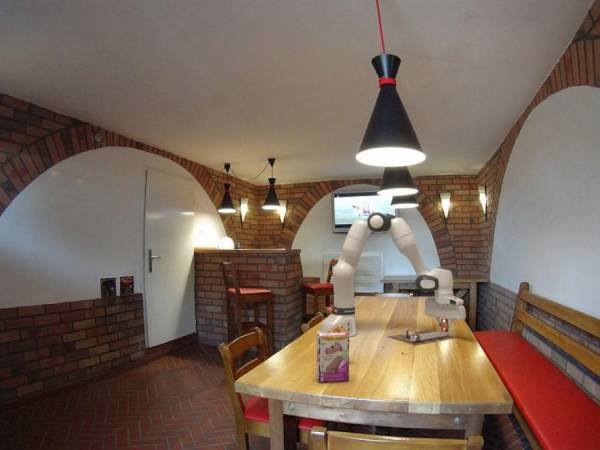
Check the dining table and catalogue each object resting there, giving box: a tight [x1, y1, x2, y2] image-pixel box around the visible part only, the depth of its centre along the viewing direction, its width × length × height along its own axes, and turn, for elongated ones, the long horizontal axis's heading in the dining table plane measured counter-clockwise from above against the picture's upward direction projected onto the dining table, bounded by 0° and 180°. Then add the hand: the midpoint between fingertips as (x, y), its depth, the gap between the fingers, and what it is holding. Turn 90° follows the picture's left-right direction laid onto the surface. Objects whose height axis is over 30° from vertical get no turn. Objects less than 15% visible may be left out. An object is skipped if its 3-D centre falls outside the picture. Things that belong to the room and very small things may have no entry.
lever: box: [410, 318, 451, 342], centre depth 183 cm, size 24×4×8 cm, turn 119°
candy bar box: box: [316, 332, 350, 384], centre depth 134 cm, size 11×5×16 cm, turn 98°
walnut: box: [408, 329, 418, 340], centre depth 185 cm, size 4×4×4 cm
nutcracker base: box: [387, 328, 457, 347], centre depth 188 cm, size 29×19×6 cm, turn 119°
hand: (444, 326), depth 188 cm, fingers closed on lever, 4 cm apart
